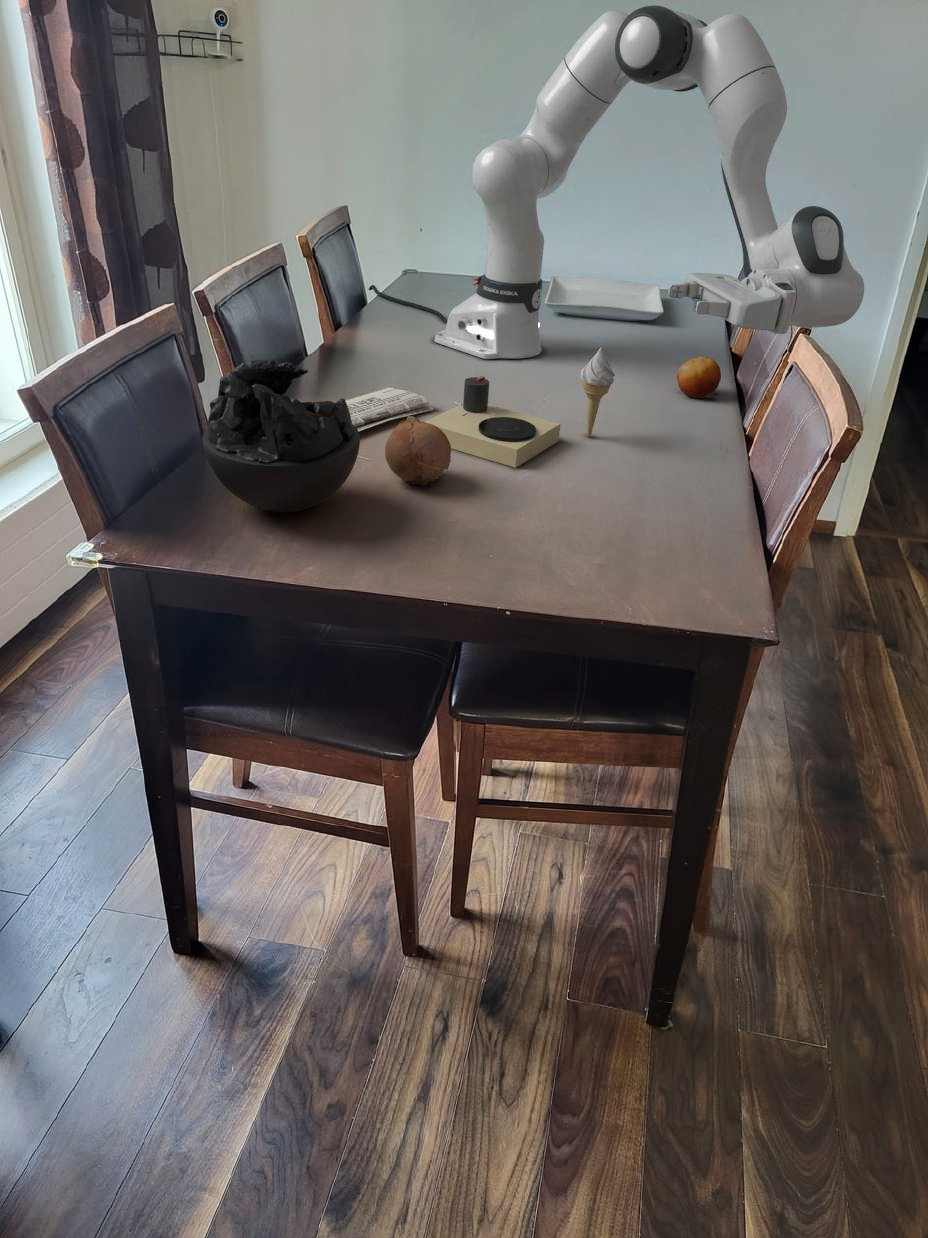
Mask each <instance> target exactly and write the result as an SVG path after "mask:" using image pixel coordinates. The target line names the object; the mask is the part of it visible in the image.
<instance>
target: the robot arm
mask: <svg viewBox="0 0 928 1238" xmlns="http://www.w3.org/2000/svg"><path fill="white" fill-rule="evenodd" d="M759 34H760V33H758V31H757V30H756V28H755V27H754V25H753V24H752V23H751V21H750V20H749V19H748V18H747V17H746V16H744V15H743V14H739V13H729V14H725V15H723V16H720V17H718V18H716V19H714V20H713V21H711V22H710V23H709V24H707V23H706V22H705V21H703V20H702V19H699V18H697V17H695V16H693V15H691V14H689V13H687V12H686V11H682V10H677V9H670V8H668V7H665V6H662V5H645V6H641V7H639V8H637V9H635V10H633V11H631V12H630V14H627V13H626V12H623V11H621V10H616V9H615V10H614V9H613V10H608V11H606V12H604V13H603V14H601V15H600V16H599V17H598V18H597V19H596V20H595V21H594V22H593V23H592V24H591V25H590V26H589V27H588V28H587V29H586V30H585V31H584V32H583V34H582V35H581V36H580V37H579V38H578V39H577V40H576V42H575V43H574V44H573V45H572V47H570V49H569V50H568V51H567V53H566V54H565V56H564V57H563V59H562V61H561V62H560V63H559V64H558V66H557V67H556V69H555V70H554V71H553V72H552V74H551V76H550V77H549V78H548V80H547V81H546V82H545V84H544V85H543V87H542V88H541V90H540V91H539V93H538V95H537V96H536V100H535V109H534V111H533V113H532V115H531V117H530V120H529V121H528V124H527V125H526V127H525V129H524V130H523V131H522V133H520V134H519V135H518V136H516V137H511V138H504V139H499V140H496V141H495V142H493V143H491V144H490V145H488V146H486V147H485V148H484V149H482V150H481V151H480V152H479V153H478V154H477V156H476V158H475V159H474V161H473V164H472V168H471V170H472V171H471V180H472V184H473V188H474V190H475V192H476V193H477V195H478V196H479V198H480V200H481V203H482V208H483V213H484V219H485V225H486V256H485V257H486V258H485V272H484V274H482V275H480V276H478V277H477V278H474V279H472V281H473V283H472V286H477V288H476V292H475V293H474V294H472V295H470V296H469V297H468V298H466V299H464V300H463V301H462V302H460V303H459V304H457V305H456V306H454V307H453V308H452V309H451V310H450V312H449V314H448V317H447V318H445V316H444V315H443V314H442V313H441V312H440V311H438V310H436V309H434V308H431V307H427V306H424V305H421V304H418V303H416V302H412V301H407V300H403V299H400V298H397V297H394V296H392V295H391V296H390V295H388V294H386V293H383V292H381V291H379V290H378V288H377V287H376V285H374V284H371V285H370V286H369V287H368V291H374V293H375V294H376V295H377V296H379V297H381V298H382V299H383V298H384V299H385V300H389V301H392V302H394V303H398V304H400V305H405V306H407V307H408V306H409V307H413V308H415V309H419V310H422V311H426V312H428V313H431V314H434V315H436V316H437V317H439V318H440V320H441V321H442V322H443V323H444V324H446V325H445V329H443V330H440V331H439V332H437V333H436V334H435V335H434V343H437V344H440V345H442V346H444V347H448V348H450V349H454V350H457V351H460V352H463V353H465V354H468V355H472V356H475V357H476V358H480V359H483V360H494V359H528V358H532V357H536V356H538V355H540V354H541V353H542V351H543V349H542V345H541V337H540V322H539V319H540V318H539V314H540V307H541V302H542V294H543V279H542V270H543V269H542V268H543V259H544V250H545V249H544V248H545V237H544V233H543V232H542V230H541V228H540V224H539V217H538V208H537V205H538V203H537V202H538V200H540V199H543V198H546V197H548V196H550V194H552V193H554V192H555V191H556V190H557V189H558V188H560V187H561V186H562V184H564V182H565V180H566V178H567V175H568V173H569V168H570V166H571V164H572V162H573V161H574V158H575V157H576V155H577V153H578V151H579V149H580V147H581V145H582V144H583V142H584V141H585V140H586V138H587V136H589V133H590V132H591V131H592V130H593V128H594V127H595V126H596V125H597V123H599V121H600V119H601V118H602V117H603V115H604V114H605V113H606V112H607V110H608V109H609V108H610V106H611V105H612V104H613V103H614V101H615V100H616V99H617V98H618V96H619V95H620V93H621V92H622V91H623V90H624V88H625V87H626V86H627V85H628V84H629V83H630V82H631V81H633V82H634V83H637V84H641V85H645V86H647V87H649V88H652V89H655V90H658V91H659V90H661V91H674V92H682V93H683V92H688V91H692V90H695V89H697V88H699V90H700V92H701V94H702V96H703V98H704V101H705V103H706V106H707V109H708V111H709V114H710V116H711V119H712V122H713V126H714V128H715V132H716V136H717V141H718V145H719V154H720V167H721V168H720V169H721V174H722V180H723V184H724V187H725V191H726V195H727V198H728V201H729V205H730V209H731V213H732V216H733V219H734V223H735V226H736V230H737V232H738V233H737V234H738V236H739V239H740V243H741V249H742V267H743V274H744V278H743V279H742V280H740V279H738V278H736V277H735V276H733V275H728V274H724V273H712V272H711V273H708V272H691V273H689V274H687V276H686V281H685V282H683V283H679V284H677V283H675V284H670V285H669V286H668V291H667V294H668V295H667V296H669V297H670V298H672V299H682V298H686V297H687V298H688V299H690V300H692V301H693V306H692V311H693V312H695V314H698V315H709V316H714V317H719V318H722V319H723V320H725V321H726V322H728V323H730V324H732V325H733V326H735V327H737V328H740V329H745V330H755V331H768V332H771V333H773V334H774V335H775V334H776V335H784V334H788V330H789V327H790V326H792V327H793V326H794V327H796V328H801V329H812V328H813V329H814V328H828V327H834V326H839V325H842V324H845V323H846V322H848V321H849V320H850V319H852V318H853V317H854V316H855V315H856V313H857V312H858V311H859V309H860V307H861V306H862V303H863V299H864V295H865V281H864V278H863V276H862V275H861V273H859V272H858V271H857V270H856V269H855V268H854V267H853V265H852V263H851V262H850V259H849V257H848V254H847V251H846V248H845V241H844V230H843V226H842V224H841V221H840V220H839V219H838V217H837V216H836V215H835V214H834V213H833V212H832V211H830V210H828V209H826V208H824V207H821V206H817V205H809V206H805V207H802V208H801V209H800V210H798V211H797V212H796V213H794V214H793V215H792V216H790V217H789V218H788V219H787V220H785V221H784V222H783V223H782V224H781V225H780V226H779V227H778V224H777V220H776V216H775V213H774V209H773V205H772V202H771V199H770V195H769V192H768V188H767V182H766V179H767V178H766V176H767V170H768V164H769V161H770V158H771V155H772V152H773V150H774V147H775V146H776V143H777V140H778V139H779V136H780V135H781V133H782V130H783V128H784V125H785V122H786V118H787V113H788V102H787V97H786V96H787V95H786V91H785V87H784V85H783V82H782V79H781V76H780V74H779V72H778V70H777V67H776V65H775V63H774V60H773V58H772V55H771V54H770V52H769V49H768V48H767V46H766V44H765V43H764V41H763V39H762V38H761V36H760V35H759Z"/></svg>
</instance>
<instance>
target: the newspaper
mask: <svg viewBox="0 0 928 1238" xmlns="http://www.w3.org/2000/svg"><path fill="white" fill-rule="evenodd" d="M345 401H346V403H347V406H348V409H349V412H350V416H351V421H352V424H353V425H354V426H355V427H356V428H357V430H358V431H359V432H361V431H364V430H366V429H369V428H372V427H375V426H378V425H381V424H383V423H386V422H389V421H392V420H396V419H400V418H405V417H408V416H414V415H418V414H422V413H427V412H431V411H434V410H435V409H434V407H432V406H431V405H429V400H428V399H427V398H426V397H425V396H424V395H420V394H417V393H415V392H411V391H408V390H403V389H399V388H394V387H385V388H382V389H379V390H376V391H372V392H369V393H365V394H362V395H358V396H354V397H352V398H349V399H345Z"/></svg>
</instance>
